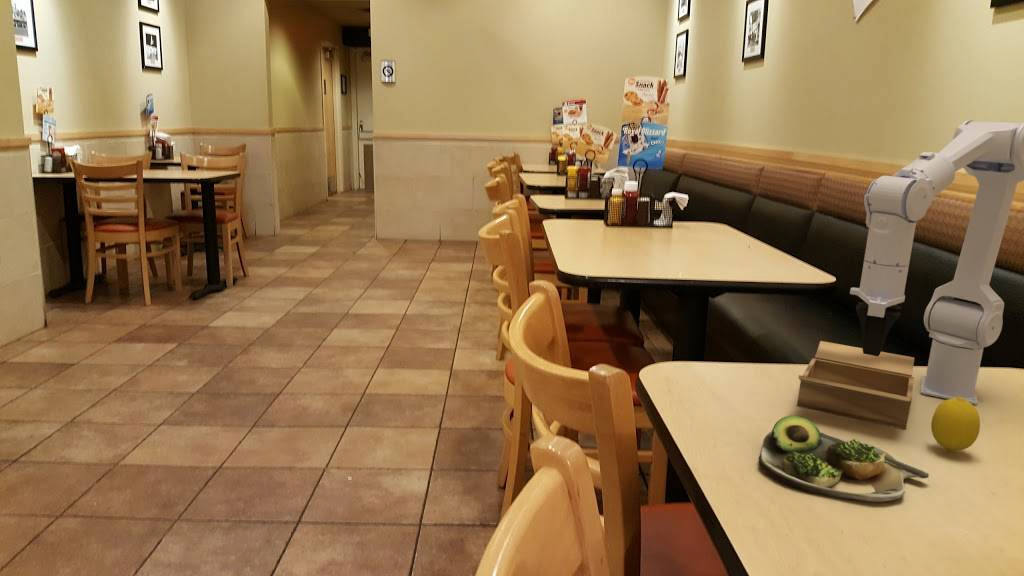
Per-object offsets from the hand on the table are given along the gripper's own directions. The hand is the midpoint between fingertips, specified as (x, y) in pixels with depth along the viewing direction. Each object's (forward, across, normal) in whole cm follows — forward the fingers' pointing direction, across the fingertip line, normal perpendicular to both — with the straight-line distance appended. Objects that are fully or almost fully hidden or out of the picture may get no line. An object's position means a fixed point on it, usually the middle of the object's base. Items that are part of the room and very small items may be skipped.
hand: (871, 353), depth 108 cm
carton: (+10, -6, -1) cm, 12 cm away
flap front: (+4, +3, -1) cm, 6 cm away
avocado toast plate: (+11, +20, -2) cm, 23 cm away
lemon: (+10, +5, +12) cm, 16 cm away
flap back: (+5, -15, -1) cm, 16 cm away
